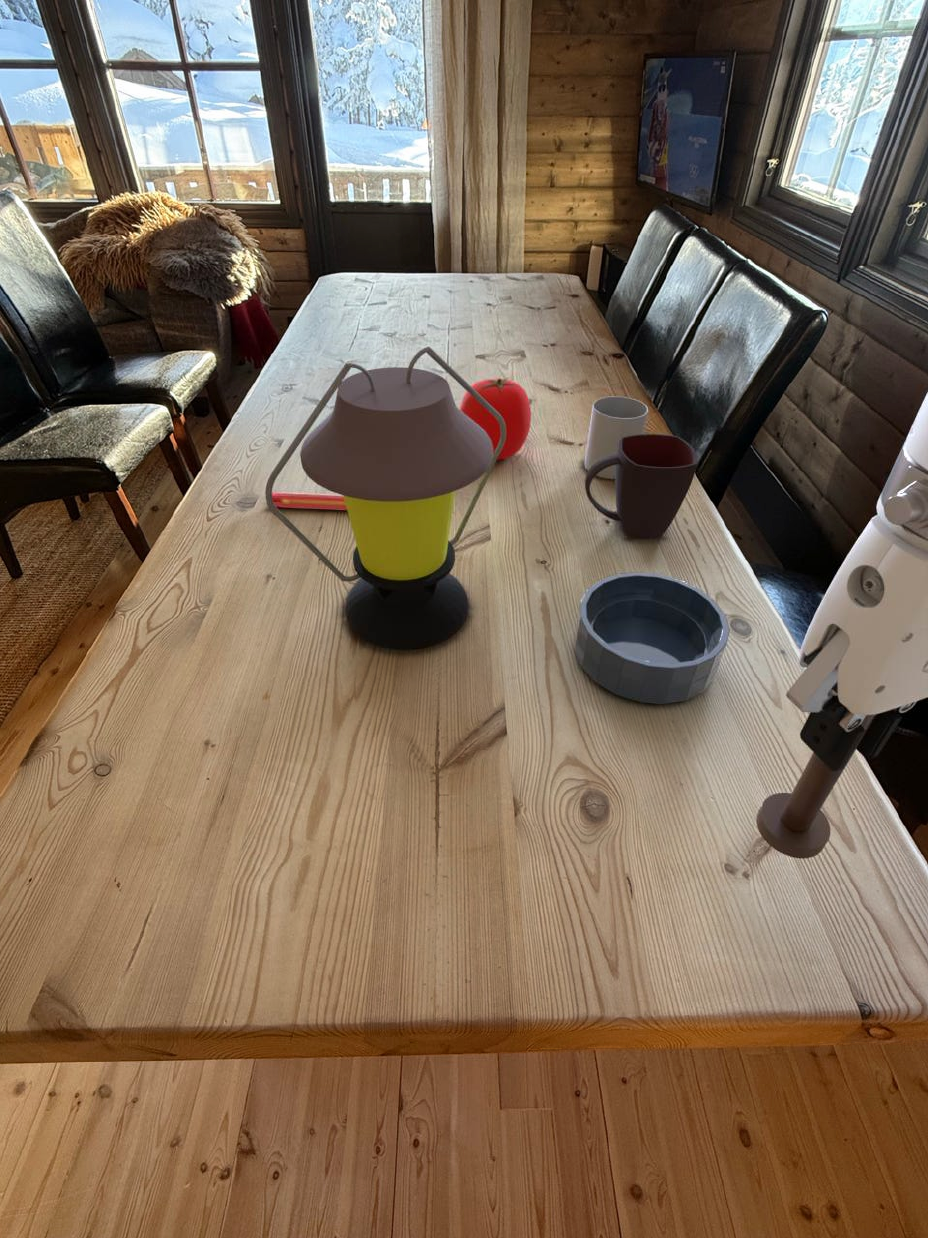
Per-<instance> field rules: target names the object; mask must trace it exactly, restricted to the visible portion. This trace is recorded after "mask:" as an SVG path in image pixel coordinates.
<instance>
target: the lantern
mask: <svg viewBox="0 0 928 1238" xmlns="http://www.w3.org/2000/svg"><path fill="white" fill-rule="evenodd" d="M424 354H427V355H428V356H429V357H430V358H431V359H432V360H433V361H434V362H436V363H437V364H438V365H439V366H440V368H442V369H443V370H444V371H445V372H446V373H447V374H448V375H449V376H451V377H452V378H453V380H455V381H456V382H457V383H458V384H459V385H460V386H461V387H462V388H463V389H464V390H465V391H466V392H467V391H468V392H469V393H470V394H471V395H472V396H473V397H474V398H475V399H476V400H477V401H478V402H479V403H480V404H481V405H483V406H484V407H485V408H486V409H487V410H488V411H489V412H490V413H491V414H492V415H493V416H494V417H495V418H496V419H497V420H498V422H499V424H500V428H501V437H500V441H499V444H498V446H497V448H496V450H495V452H494V454H493V445H492V441H491V439H490V438H489V436H488V434H487V433H486V432H485V430H484V429H483V428H481V427H480V426H479V425H478V424H477V423H476V422H474V421H473V420H472V419H471V418H469V417H468V416H467V415H466V414H464V413H463V412H462V411H461V410H460V408H459V407H457V404H456V402H455V399H454V396H453V392H452V390H451V389H452V388H451V385H450V384H449V382H448V381H447V379H445V378H444V377H443V376H441V375H439V374H437V373H436V372H432V371H429V370H424V369H420V368H414V367H415V364H416V363H417V361H418V360H419V359H420V358H421V357H422V356H423V355H424ZM352 368H353V369H357V370H359V371H360V372H357V373H355V374H352V375H350V376H348V377H346V376H347V374H348V373H349V372H350V371H351V369H352ZM335 392H336V395H335V401H334V406H333V409H332V411H331V413H329V414H328V415H327V417H325V418H324V419H323V420H322V421H321V422H320V423H318V425H317V426H315V428H314V429H312V431H310V429H311V428H312V426H313V425H314V424H315V422H316V420H317V419H318V417H319V416H320V415H321V413H322V411H323V410H324V409H325V407H326V406H327V404H328V403H329V401H330V400H331V399H332V397H333V395H334V394H335ZM309 431H310V433H309V434H308V432H309ZM307 434H308V435H307ZM306 435H307V436H306ZM305 436H306V438H305ZM304 438H305V439H304ZM505 439H506V426H505V422H504V420H503V418H502V416H501V415H500V414H499V413H498V412H497V411H496V410H495V409H494V408H493V407H492V406H491V405H490V404H489V403H488V402H487V401H486V400H485V399H484V398H482V397H481V396H480V395H479V394H478V393H477V392H476V391H475V390H474V389H473V388H472V387H471V385H470V384H469V383H468V382H467V381H466V380H465V379H464V378H462V376H461V375H460V374H459V373H458V372H457V371H455V369H453V367H451V365H449V364H448V363H447V362H446V360H444V359H443V358H442V357H441V356H440V355H439V354H438V353H437V352H436V351H434V349H432V347H430V346H426V347H424V348H422V349H421V350H419V351H417V352H416V353H415V355H414V356H413V357H412V358H411V360H410V362H409V364H408V366H407V367H403V366H402V367H401V366H399V367H397V366H395V367H393V366H392V367H391V366H390V367H380V368H374V369H368V370H367V369H366V368H365V367H363V366H362V365H360V364H357V363H352V362H345V364H344V365H343V367H342V368H341V370H340V371H339V373H338V374H337V375H336V377H335V379H334V380H333V382H332V383H331V385H330V386H329V387H328V389H327V391H326V392H325V394H324V395H323V396H322V398H321V399H320V400H319V402H318V403H317V405H316V406H315V407H314V410H313V411H312V412H311V414H310V416H309V417H308V418H307V420H306V421H305V423H304V425H303V426H302V427H301V428H300V430H299V432H298V433H297V434H296V436H295V438H294V439H293V441H292V442H291V443H290V445H289V446H288V448H287V449H286V451H285V452H284V453H283V455H282V457H281V458H280V460H279V461H278V462H277V464H276V466H275V467H274V469H273V470H272V471H271V473H270V474H269V477H268V479H267V481H266V484H265V491H264V494H265V495H264V496H265V501H266V504H267V507H268V509H269V510H270V512H271V513H272V514H273V515H274V516H275V517H276V518H277V519H278V520H280V522H281V523H283V525H284V526H285V527H287V528H288V530H289V531H291V533H293V535H295V537H297V538H298V539H299V540H300V541H301V542H302V544H304V545H305V546H306V547H307V548H308V549H309V550H310V551H311V552H312V553H313V554H314V555H315V556H316V557H317V558H318V560H320V561H321V562H322V564H324V565H325V566H326V567H327V568H328V569H329V570H330V571H331V572H332V573H333V574H334V575H335V576H336V577H337V578H338V579H339V580H340V581H342V582H354V581H356V582H355V584H354V585H353V586H352V587H351V588H350V589H349V590H350V591H349V592H348V594H347V597H346V600H345V601H346V602H345V616H346V620H347V623H348V624H349V626H350V628H351V630H352V632H354V633H355V634H356V635H357V636H358V637H359V638H361V639H362V640H363V641H365V642H367V643H369V644H372V645H374V646H377V647H380V648H384V649H389V650H397V651H411V650H418V649H425V648H429V647H431V646H435V645H438V644H440V643H442V642H444V641H446V640H448V639H449V638H451V637H452V636H453V635H454V634H456V633H457V632H458V631H459V630H460V628H462V626H463V624H464V622H465V621H466V618H467V615H468V611H469V600H468V599H469V598H468V596H467V592H466V590H465V588H464V586H463V585H462V584H461V582H460V581H459V580H458V579H457V578H456V577H455V576H454V575H453V574H452V573H451V571H452V570H453V568H454V566H455V562H456V552H455V551H456V550H455V548H454V545H455V544H456V543H458V541H459V540H460V538H461V536H462V534H463V532H464V529H465V527H466V525H467V523H468V521H469V519H470V518H471V515H472V513H473V511H474V509H475V507H476V505H477V502H478V500H479V498H480V496H481V494H482V492H483V489H484V488H485V485H486V483H487V481H488V479H489V477H490V475H491V474H492V470H493V469H494V466H495V464H496V462H497V461H498V460H497V458H498V456H499V454H500V452H501V450H502V448H503V446H504V443H505ZM303 440H304V441H303ZM302 441H303V442H302ZM301 442H302V446H301V448H300V452H299V457H300V464H301V467H302V470H303V471H304V473H305V474H306V476H307V477H308V478H309V479H310V480H311V481H312V482H314V484H316V485H317V486H320V487H321V488H324V489H325V490H327V491H330V492H332V493H335V494H337V495H343V496H344V500H345V503H346V507H347V510H346V511H347V514H348V518H349V522H350V525H351V529H352V533H353V536H354V540H355V544H356V547H355V548H354V550H353V553H352V564H353V568H354V571H355V572H356V573H355V574H353V575H344V573H342V572H341V571H340V570H339V568H338V567H337V566H336V565H334V564H333V562H332V561H331V560H329V559H328V557H326V555H324V553H322V552H321V551H320V550H319V548H317V547H316V546H315V544H314V543H312V542H311V540H310V539H308V538H307V537H306V536H305V535H304V534H303V533H302V531H301V530H299V528H297V526H295V524H294V523H292V522H291V521H290V519H288V518H287V516H286V515H284V513H282V512H281V511H280V510H279V509H278V508H277V506H275V505H274V503H273V499H272V492H273V488H274V484H275V482H276V481H277V480H276V479H277V478H278V476H279V475H280V474H281V472H282V471H283V469H284V467H285V466H286V464H287V463H288V462H289V460H290V458H291V457H292V456H293V454H294V453H295V451H296V450H297V449H298V447H299V445H301ZM480 478H481V480H480V482H479V484H478V487H477V489H476V490H475V493H474V494H473V496H472V498H471V501H470V503H469V505H468V507H467V510H466V512H465V514H464V516H463V518H462V520H461V522H460V524H459V527H458V529H457V530H456V533H455V535H454V537H453V538H452V539H451V540H450V533H451V525H452V518H453V511H454V503H455V496H456V492H457V491H458V490H462V489H463V488H466V487H467V486H469V485H471V484H473V483H475V481H477V480H479V479H480Z"/></svg>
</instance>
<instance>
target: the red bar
mask: <svg viewBox="0 0 928 1238" xmlns="http://www.w3.org/2000/svg"><path fill="white" fill-rule="evenodd" d="M272 499H273V503H274V505H275V506H276V507H280V508H290V509H291V508H292V509H311V510H312V509H313V510H335V511H347V507H346V503H345V500H344V496H343V495H341V494H325V493H324V494H323V493H303V492H302V493H301V492H283V491H282V492H273V491H272Z"/></svg>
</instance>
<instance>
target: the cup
mask: <svg viewBox="0 0 928 1238" xmlns="http://www.w3.org/2000/svg"><path fill="white" fill-rule="evenodd" d="M648 415H649V409H648V406H647V405H646V403H644V402H642V401H641V400H638V399H634V398H632V397H628V396H627V397H625V396H619V395H615V396H614V395H613V396H604V397H601V398H597V399H596V400H594V402H593V403H592V407H591V415H590V421H589V428H588V434H587V441H586V449H585V455H584V469H586V470H587V472H588V471H589V469H590V468H591V467H592V466H593V465H594V464H595V463H596V462H598V461H599V460H601V459H603V458H606V457H609V456H613V455H617V448H618V443H619V440H620V438H621V437H625V436H630V435H637V434H645V431H646V424H647V420H648ZM615 469H616V465H613V466H610V467H607V468H605V469H603V470H602V471H600V472H599V473H598V474H597V475H596V476H595V477H599V478H603V479H609V480H615Z"/></svg>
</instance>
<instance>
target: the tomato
mask: <svg viewBox="0 0 928 1238" xmlns="http://www.w3.org/2000/svg"><path fill="white" fill-rule="evenodd" d="M470 386H471V387H472V388H473V389H474V390H475V391H476V392H477V393H478V394H479V395H480V396H481V397H482V398H484V399H485V400H486V401H487V402H488V403H489V404H490V405H491V406H492V407H493V408H494V409H495V410H496V411H497V412H498V413H499V414H500V415H501V416H502V418H503V420H504V422H505V426H506V439H505V443H504V446H503V448H502V450H501V452H500V454H499V456H498V458H497V460H496V461H499V460H505V459H508V458H510V457H513V456H514V455H515V454H517V453H518V452H519V451H520V450H521V449H522V447H523V446H524V444H525V442H526V440H527V438H528V435H529V433H530V429H531V421H532V412H531V411H532V410H531V405H530V400H529V397H528V394H527V392H526V389H524V388H523V386H522V385H521V384H519V383H517V382H515V381H513V380H510V377H507V378H484V379H482V380H479V381H476V382H475V383H473V384H471V385H470ZM459 410H461V411H462V412H463V413H464V414H466V415H467V416H468V417H469V418H471V419H472V420H473V421H474V422H476V423H477V424H478V425H479V426H480V427H481V428H483V429H484V430H485V432H486V433H487V434H488V436H489V438H490V439H491V441H492V445H493V454H494V452H495V450H496V448H497V446H498V444H499V441H500V437H501V428H500V424H499V422H498V420H497V419H496V418H495V417H494V416H493V415H492V414H491V413H490V412H489V411H488V410H487V409H486V408H485V407H484V406H483V405H481V404H480V403H479V402H478V401H477V400H476V399H475V398H474V397H473V396H472V395H471V394H470V393H469V392H468V391H467V390H466V392H465V393H464V394H463V397H462V400H461V403H460V408H459Z"/></svg>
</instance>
